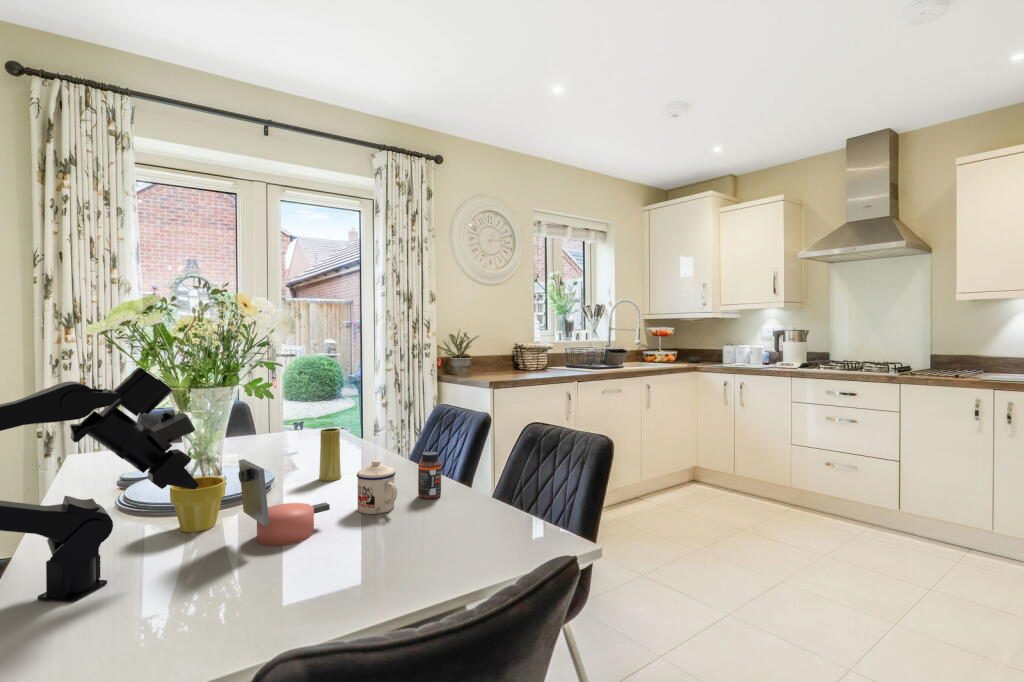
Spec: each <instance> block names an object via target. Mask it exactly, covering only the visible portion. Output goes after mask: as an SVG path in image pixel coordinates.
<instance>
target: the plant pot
mask: <svg viewBox="0 0 1024 682" xmlns="http://www.w3.org/2000/svg"><path fill="white" fill-rule="evenodd" d="M193 478H194V479H195V481H196V482H197V483H198V484H199V486H198V487H197V488H196V489H195V490H193V489H188V488H183V487H177V486H171V485H169V486H170V487H169V500H170V503H171V504H172V505H174V506H173V507H174V509H175V513H176V517H177V521H178V524H179V525H178V526H179V528H180V531H181V532H183V533H199V532H203V531H207V530H210V529H211V528H213V527H215V526H216V524H217V521H218V516H219V513H220V508H221V504H222V503H221V502H222V498H224V497H225V495H226V479H225V478H224V477H221V476H215V475H214V476H213V475H212V476H209V475H208V476H198V477H197V476H196V477H193Z"/></svg>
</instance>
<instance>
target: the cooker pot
mask: <svg viewBox="0 0 1024 682" xmlns="http://www.w3.org/2000/svg"><path fill="white" fill-rule="evenodd" d="M330 506H331V505H330V503H327V502H322V503H317V504H313V505H311V504H308V503H305V502H304V503H303V502H290V503H289V502H287V503H280V504H276V505H271V506H267V507H268V518H269V524H268V525H265V526H263V525H262V524H260V523H259V522H258V521H256V541H257V543H259V544H261V545H264V546H270V547H272V546H273V547H275V546H277V547H279V546H287V545H292V543H294V544H297V543H300V542H299V541H301V542H303V541H305V539H306V540H308V539H309V538H311V537H312V536H313V535H314V533H315V532H314V531H315V518H314V517H315V514H318V513H323V512H326V511H330ZM310 536H311V537H310ZM307 538H308V539H307ZM302 540H303V541H302ZM296 542H297V543H296Z"/></svg>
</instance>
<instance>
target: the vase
mask: <svg viewBox="0 0 1024 682" xmlns="http://www.w3.org/2000/svg"><path fill="white" fill-rule="evenodd" d="M340 430H341V429H340V428H337V427H336V428H335V427H331V428H330V427H329V428H328V427H327V428H323V429H320V446H319V447H320V453H319V475H318V476H319V477H318V479H319V480H320V482H335V481H338V480H340V479H341V478H342V472H341V471H342V470H341V442H340V440H341V438H340V433H341V431H340Z"/></svg>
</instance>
